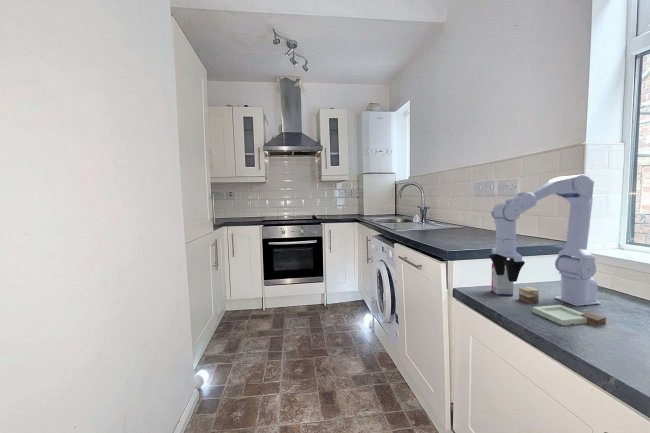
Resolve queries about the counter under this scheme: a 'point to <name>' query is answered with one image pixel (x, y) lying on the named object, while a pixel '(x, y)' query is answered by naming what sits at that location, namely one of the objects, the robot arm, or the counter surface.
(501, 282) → the supplement box
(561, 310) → the base plate
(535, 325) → the counter surface
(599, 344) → the counter surface
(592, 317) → the walnut brick
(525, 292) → the tan cube
